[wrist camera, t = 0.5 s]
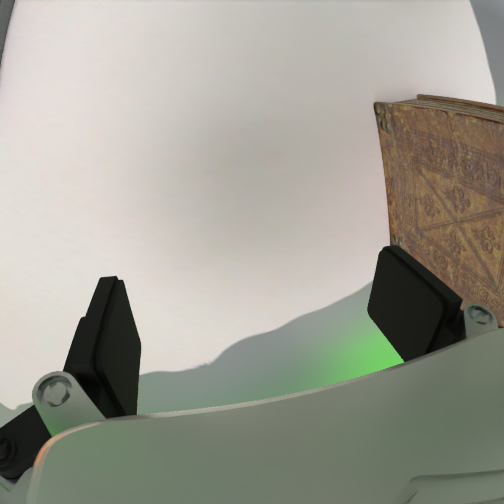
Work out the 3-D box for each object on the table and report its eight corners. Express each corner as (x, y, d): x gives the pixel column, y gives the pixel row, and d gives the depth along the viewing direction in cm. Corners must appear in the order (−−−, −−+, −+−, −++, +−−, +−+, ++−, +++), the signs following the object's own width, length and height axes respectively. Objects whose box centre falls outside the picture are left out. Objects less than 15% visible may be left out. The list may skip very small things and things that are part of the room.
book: (372, 100, 37) (574, 141, 11) (418, 94, 37) (597, 133, 11) (390, 253, 49) (514, 370, 23) (429, 236, 50) (551, 333, 23)
